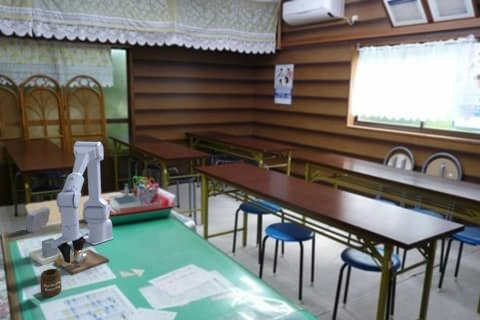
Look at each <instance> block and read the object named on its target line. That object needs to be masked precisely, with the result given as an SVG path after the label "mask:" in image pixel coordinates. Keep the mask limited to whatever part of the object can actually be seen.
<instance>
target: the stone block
mask: <svg viewBox="0 0 480 320" xmlns="http://www.w3.org/2000/svg"><path fill="white" fill-rule="evenodd" d="M50 214H51V209H50V207H47V206H41V207H40V208H38V209H35V210H30V211H29V212H28V213H27V215H25V217H26V218H25V229H26V231H27V232H28V233H33V232H36V231H38V230H39V229H41V228H43V227H44V226H45V225H46V224H48V222H49V220H50Z"/></svg>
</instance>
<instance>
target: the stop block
mask: <svg viewBox="0 0 480 320" xmlns="http://www.w3.org/2000/svg"><path fill="white" fill-rule="evenodd" d="M54 240H56V239H55V238H53V237H51V238H48V239H43V240H41V248H42V255H43V256H44V257H46V258H49V257H52V256H55V255H58V249H57V248H52V247H51V242H52V241H54Z"/></svg>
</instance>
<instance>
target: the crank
mask: <svg viewBox="0 0 480 320" xmlns="http://www.w3.org/2000/svg"><path fill="white" fill-rule="evenodd" d="M85 260H87V253H86V252H82V251H81V250H76V251H75V261H76V266H81V264H82V262H83V261H85Z"/></svg>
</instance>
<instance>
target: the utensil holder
mask: <svg viewBox="0 0 480 320" xmlns="http://www.w3.org/2000/svg"><path fill="white" fill-rule="evenodd" d="M60 258H61V255H60V254H59V255H58V260H57V265H56V267H55V268H47V269H45V268H46V267H47V264H46V263H45V262H44V261H43V262H44V263H45V265H41V264H38V268H39V270H41V268H42V271H40V272H41V274H40V277H41V278H40V280H39V281H40V282H39V284H40V286H39V287H40V294H41V296H42V297H45V298H48V297H49V298H50V297H55V296H57V295H59V294H60V293H62V292H61V291H62V277H61V274H60V270H59V266H58V265H59V263H60ZM40 263H42V262H40ZM44 266H45V267H44Z"/></svg>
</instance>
